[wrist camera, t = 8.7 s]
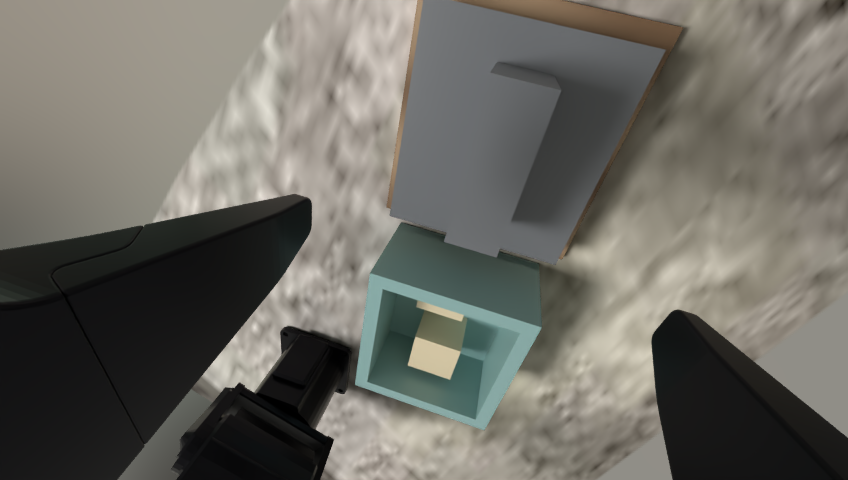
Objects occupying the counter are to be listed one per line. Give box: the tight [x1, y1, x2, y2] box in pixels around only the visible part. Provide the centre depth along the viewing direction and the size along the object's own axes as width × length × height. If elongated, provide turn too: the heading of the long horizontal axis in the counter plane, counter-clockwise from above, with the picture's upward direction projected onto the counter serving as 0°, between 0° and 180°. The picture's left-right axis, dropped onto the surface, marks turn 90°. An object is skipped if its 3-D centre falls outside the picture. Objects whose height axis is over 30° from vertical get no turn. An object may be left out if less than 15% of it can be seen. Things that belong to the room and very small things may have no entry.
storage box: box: [355, 222, 542, 430], centre depth 23 cm, size 10×9×6 cm
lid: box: [390, 0, 666, 265], centre depth 16 cm, size 10×9×6 cm
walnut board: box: [387, 0, 683, 259], centre depth 18 cm, size 12×11×1 cm
